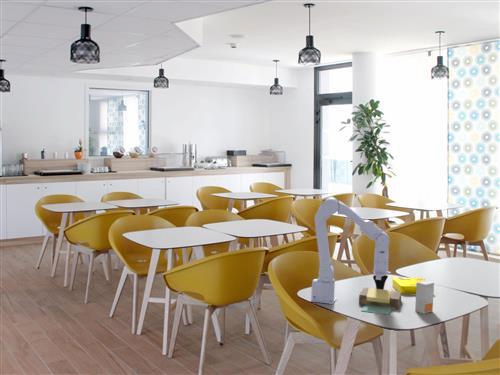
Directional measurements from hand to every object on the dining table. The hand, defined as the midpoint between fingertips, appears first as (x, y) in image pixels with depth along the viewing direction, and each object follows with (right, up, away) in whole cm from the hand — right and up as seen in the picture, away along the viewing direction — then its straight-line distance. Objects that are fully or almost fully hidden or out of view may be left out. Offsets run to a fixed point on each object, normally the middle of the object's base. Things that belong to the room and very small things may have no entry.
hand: (379, 292), depth 231 cm
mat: (-3, -6, -7) cm, 9 cm away
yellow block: (-1, -1, -3) cm, 4 cm away
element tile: (+20, -4, +23) cm, 31 cm away
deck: (+1, -5, +3) cm, 6 cm away
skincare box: (+16, -6, -8) cm, 19 cm away
